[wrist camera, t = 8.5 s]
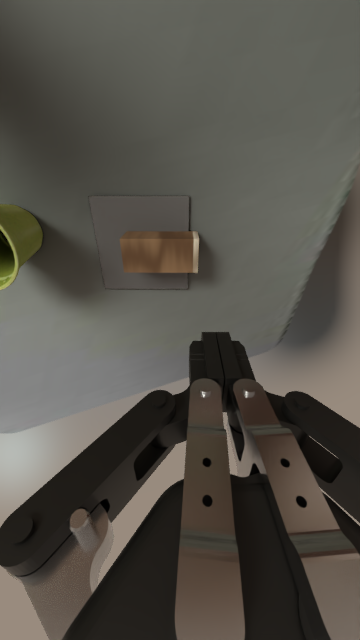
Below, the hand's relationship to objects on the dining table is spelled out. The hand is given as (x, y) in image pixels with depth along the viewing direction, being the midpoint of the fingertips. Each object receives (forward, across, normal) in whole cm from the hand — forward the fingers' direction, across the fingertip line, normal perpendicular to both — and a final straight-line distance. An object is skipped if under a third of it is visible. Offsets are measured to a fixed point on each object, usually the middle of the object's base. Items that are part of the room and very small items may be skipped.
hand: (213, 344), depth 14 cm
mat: (+21, +7, 0) cm, 22 cm away
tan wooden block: (+19, 0, 0) cm, 19 cm away
